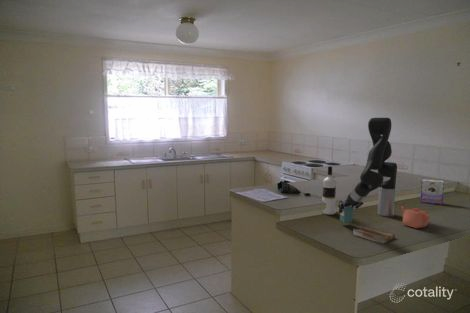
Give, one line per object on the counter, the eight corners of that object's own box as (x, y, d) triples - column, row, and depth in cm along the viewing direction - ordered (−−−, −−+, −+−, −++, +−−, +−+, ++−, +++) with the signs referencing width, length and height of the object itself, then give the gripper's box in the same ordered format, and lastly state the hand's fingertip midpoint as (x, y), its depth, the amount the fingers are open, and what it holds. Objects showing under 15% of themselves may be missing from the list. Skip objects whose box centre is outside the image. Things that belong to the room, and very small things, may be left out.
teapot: (422, 231, 185) (424, 213, 184) (392, 222, 200) (394, 205, 199) (435, 228, 190) (436, 210, 189) (405, 219, 206) (406, 202, 205)
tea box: (347, 219, 198) (348, 199, 196) (352, 222, 193) (353, 201, 191) (339, 220, 197) (340, 199, 195) (344, 222, 192) (345, 201, 190)
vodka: (334, 215, 213) (336, 168, 209) (319, 214, 217) (321, 167, 213) (336, 212, 221) (338, 166, 217) (322, 210, 225) (323, 165, 221)
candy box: (442, 203, 245) (444, 180, 243) (442, 205, 240) (444, 182, 238) (420, 200, 252) (422, 178, 250) (420, 202, 247) (421, 179, 245)
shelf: (364, 229, 188) (365, 224, 187) (394, 237, 176) (394, 231, 175) (352, 235, 179) (353, 229, 178) (383, 243, 167) (383, 237, 167)
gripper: (366, 189, 186) (353, 204, 200) (342, 190, 183) (330, 206, 197) (372, 201, 182) (358, 216, 195) (347, 202, 179) (335, 218, 192)
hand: (344, 211), depth 196 cm, fingers closed on tea box, 5 cm apart
